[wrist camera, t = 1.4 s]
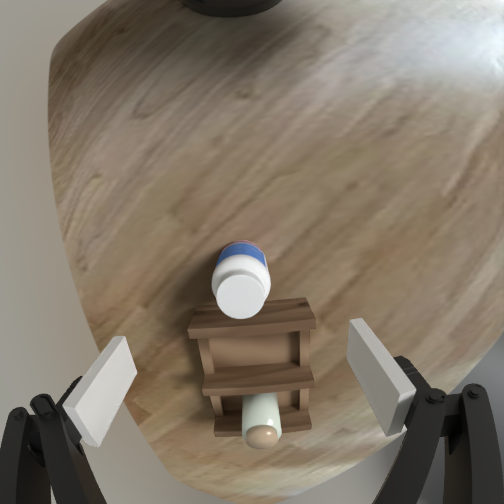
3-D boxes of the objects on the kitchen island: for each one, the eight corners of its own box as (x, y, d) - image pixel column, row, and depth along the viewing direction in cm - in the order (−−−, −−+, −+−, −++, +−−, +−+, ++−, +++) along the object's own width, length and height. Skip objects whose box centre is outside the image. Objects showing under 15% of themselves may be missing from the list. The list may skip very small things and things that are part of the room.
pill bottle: (210, 250, 32) (195, 278, 22) (255, 231, 31) (258, 253, 22) (230, 292, 33) (223, 334, 23) (273, 275, 32) (282, 312, 23)
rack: (196, 306, 33) (187, 329, 28) (305, 297, 33) (315, 318, 28) (218, 410, 38) (215, 436, 32) (305, 403, 38) (311, 429, 32)
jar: (241, 380, 35) (239, 430, 26) (275, 377, 35) (282, 427, 26) (244, 403, 36) (243, 452, 27) (276, 400, 36) (282, 449, 27)
